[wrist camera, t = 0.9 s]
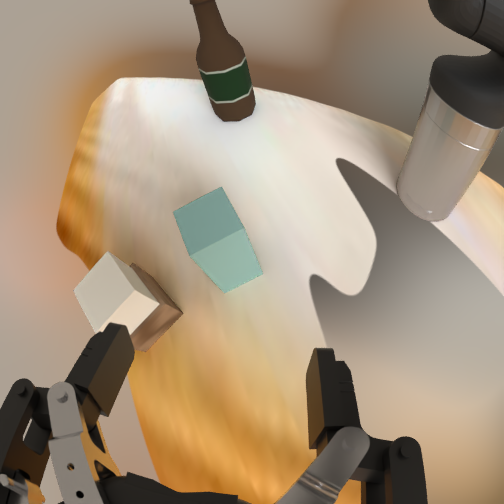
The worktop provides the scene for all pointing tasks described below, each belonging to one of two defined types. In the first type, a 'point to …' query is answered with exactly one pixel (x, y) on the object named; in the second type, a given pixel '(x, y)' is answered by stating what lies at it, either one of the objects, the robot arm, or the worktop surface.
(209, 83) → the beer bottle
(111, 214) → the worktop surface
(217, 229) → the teal block
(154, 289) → the walnut block
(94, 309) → the cream block
